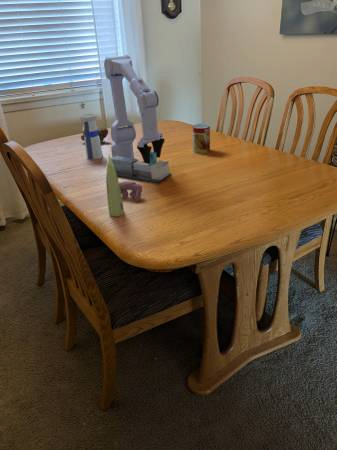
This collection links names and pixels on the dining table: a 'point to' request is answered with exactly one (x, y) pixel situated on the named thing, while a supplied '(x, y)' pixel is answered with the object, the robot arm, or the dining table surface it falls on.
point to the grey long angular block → (126, 171)
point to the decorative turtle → (101, 133)
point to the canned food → (201, 138)
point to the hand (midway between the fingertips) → (152, 160)
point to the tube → (113, 190)
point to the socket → (160, 170)
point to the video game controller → (131, 186)
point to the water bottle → (91, 135)
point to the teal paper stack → (145, 166)
